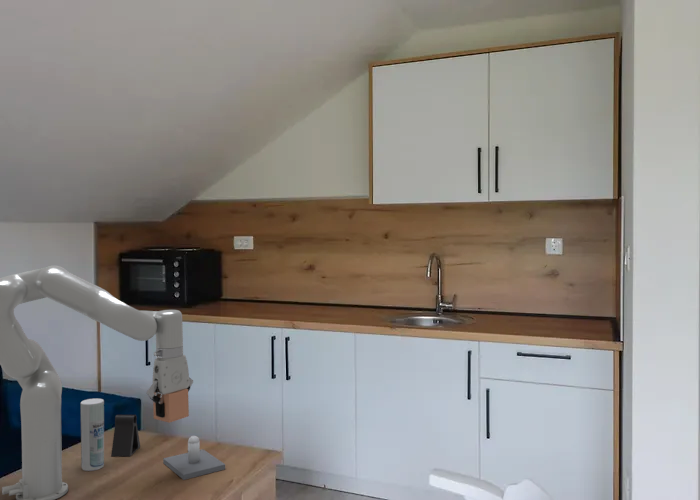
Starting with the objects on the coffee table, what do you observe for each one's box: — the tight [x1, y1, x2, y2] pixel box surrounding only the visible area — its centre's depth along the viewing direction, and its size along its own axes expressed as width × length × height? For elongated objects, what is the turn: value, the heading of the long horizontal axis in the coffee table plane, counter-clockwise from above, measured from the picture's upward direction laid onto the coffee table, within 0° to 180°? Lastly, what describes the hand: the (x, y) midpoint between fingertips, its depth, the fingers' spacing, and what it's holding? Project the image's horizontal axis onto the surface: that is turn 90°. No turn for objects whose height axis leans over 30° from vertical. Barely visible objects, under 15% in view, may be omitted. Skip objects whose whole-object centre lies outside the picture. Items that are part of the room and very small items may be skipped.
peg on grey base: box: [162, 435, 226, 481], centre depth 182 cm, size 13×16×9 cm
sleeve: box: [152, 389, 190, 424], centre depth 175 cm, size 7×7×8 cm
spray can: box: [80, 398, 105, 472], centre depth 181 cm, size 6×6×20 cm
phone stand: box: [110, 414, 141, 458], centre depth 194 cm, size 9×6×12 cm, turn 178°
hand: (171, 412), depth 175 cm, fingers closed on sleeve, 7 cm apart
